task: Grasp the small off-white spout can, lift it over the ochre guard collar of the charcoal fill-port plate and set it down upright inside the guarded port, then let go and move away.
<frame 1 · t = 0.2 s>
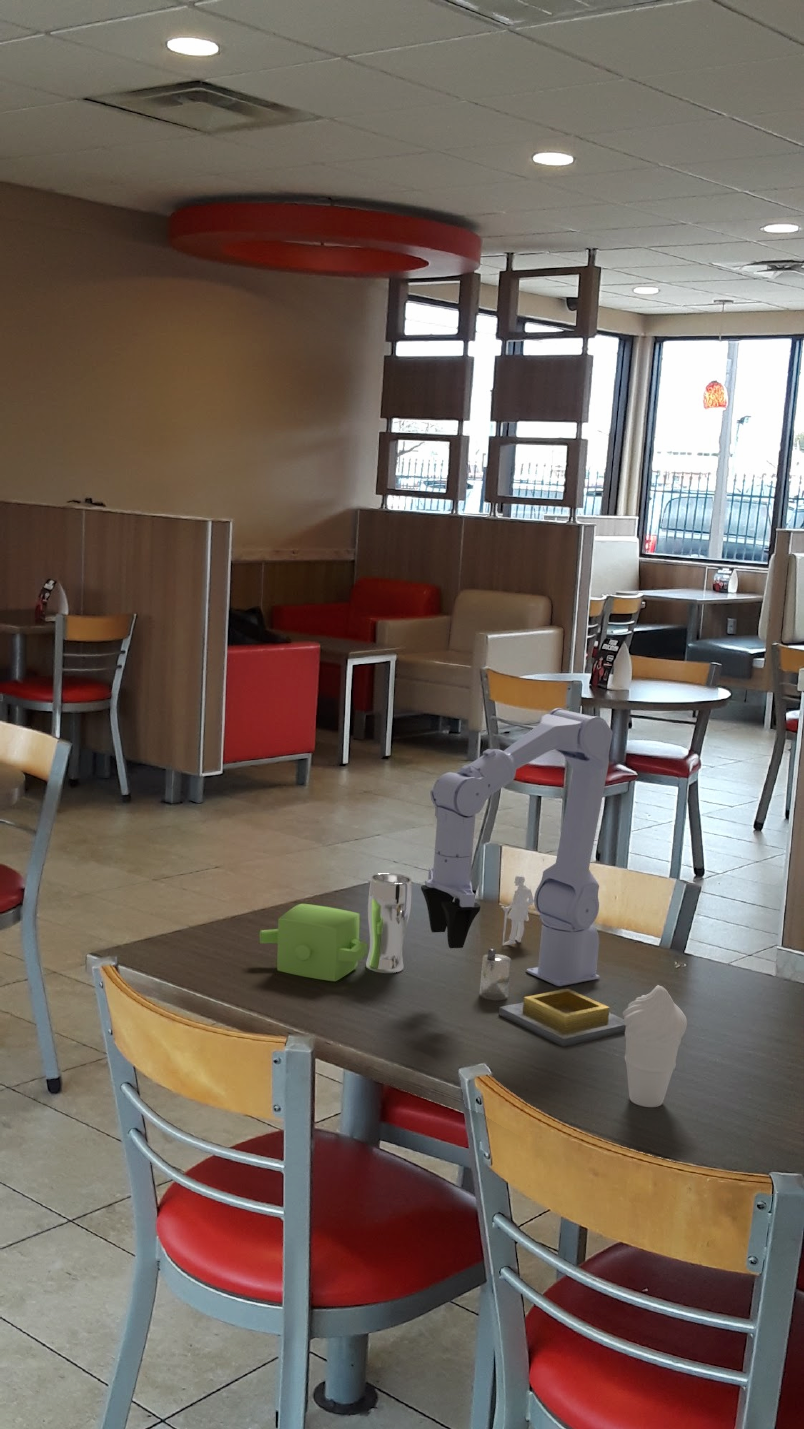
hand: (446, 939, 217), 10 cm above the table, tool pointing down, fingers open, 7 cm apart
soft serve ice cream cone: (646, 1102, 187), on the table
beer glass: (384, 968, 232), on the table
action figure: (513, 944, 250), on the table
fill port: (564, 1022, 213), on the table
spout can: (493, 995, 223), on the table
gearbox: (309, 971, 228), on the table
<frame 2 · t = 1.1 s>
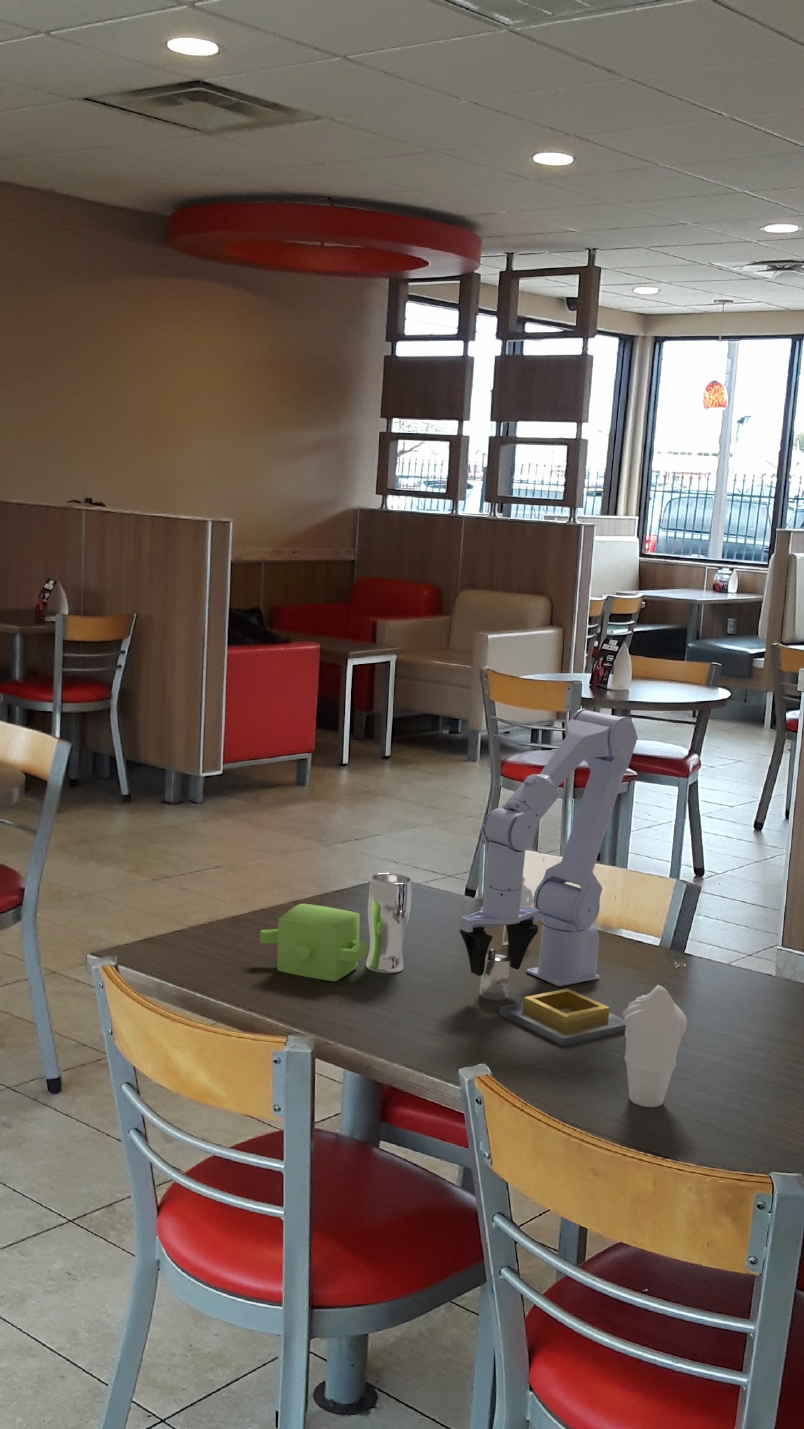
hand: (495, 970, 222), 4 cm above the table, tool pointing down, fingers open, 7 cm apart
nothing on the table moved.
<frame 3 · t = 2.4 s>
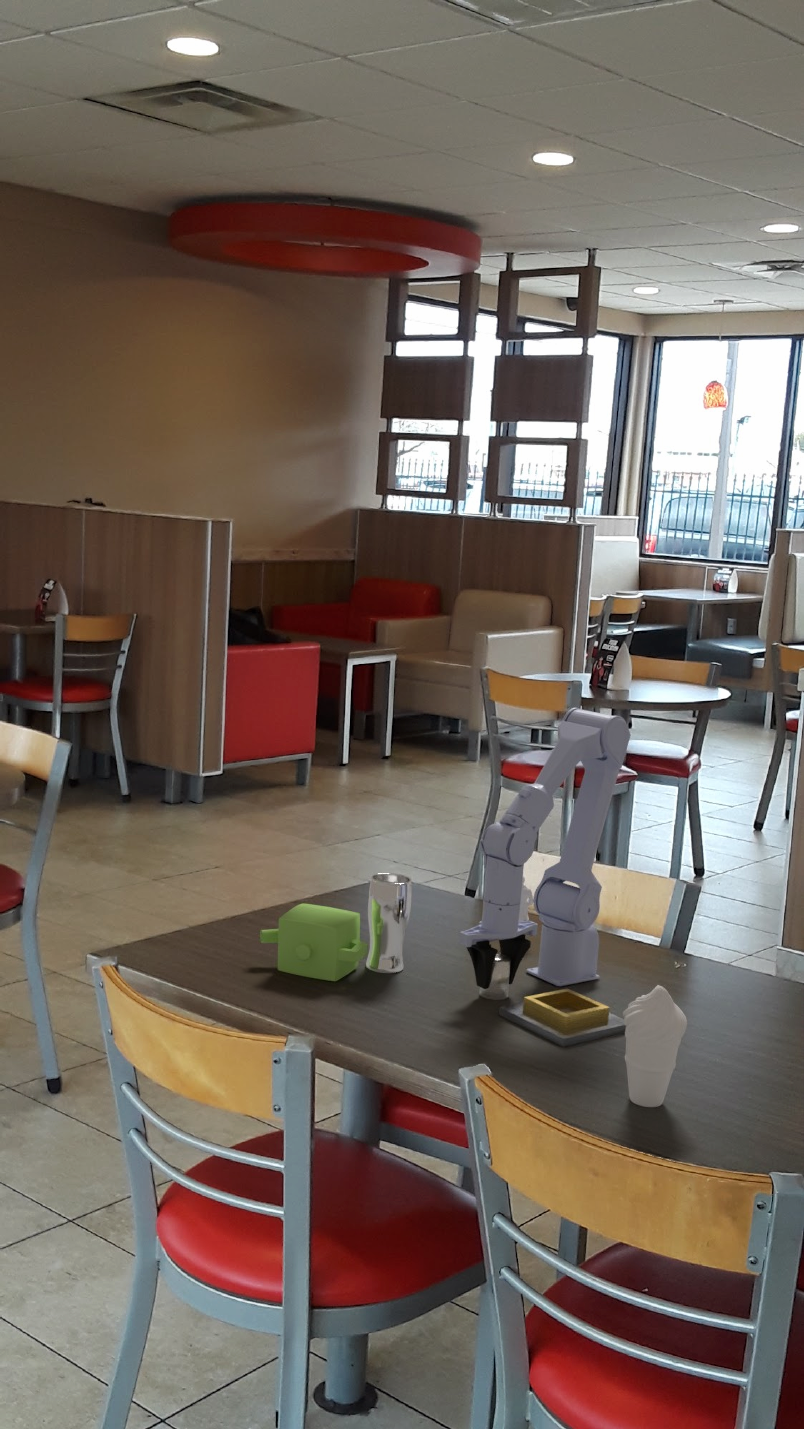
hand: (494, 984, 222), 2 cm above the table, tool pointing down, fingers closed on spout can, 4 cm apart
spout can: (493, 995, 223), on the table, touching gripper
everything else where it was.
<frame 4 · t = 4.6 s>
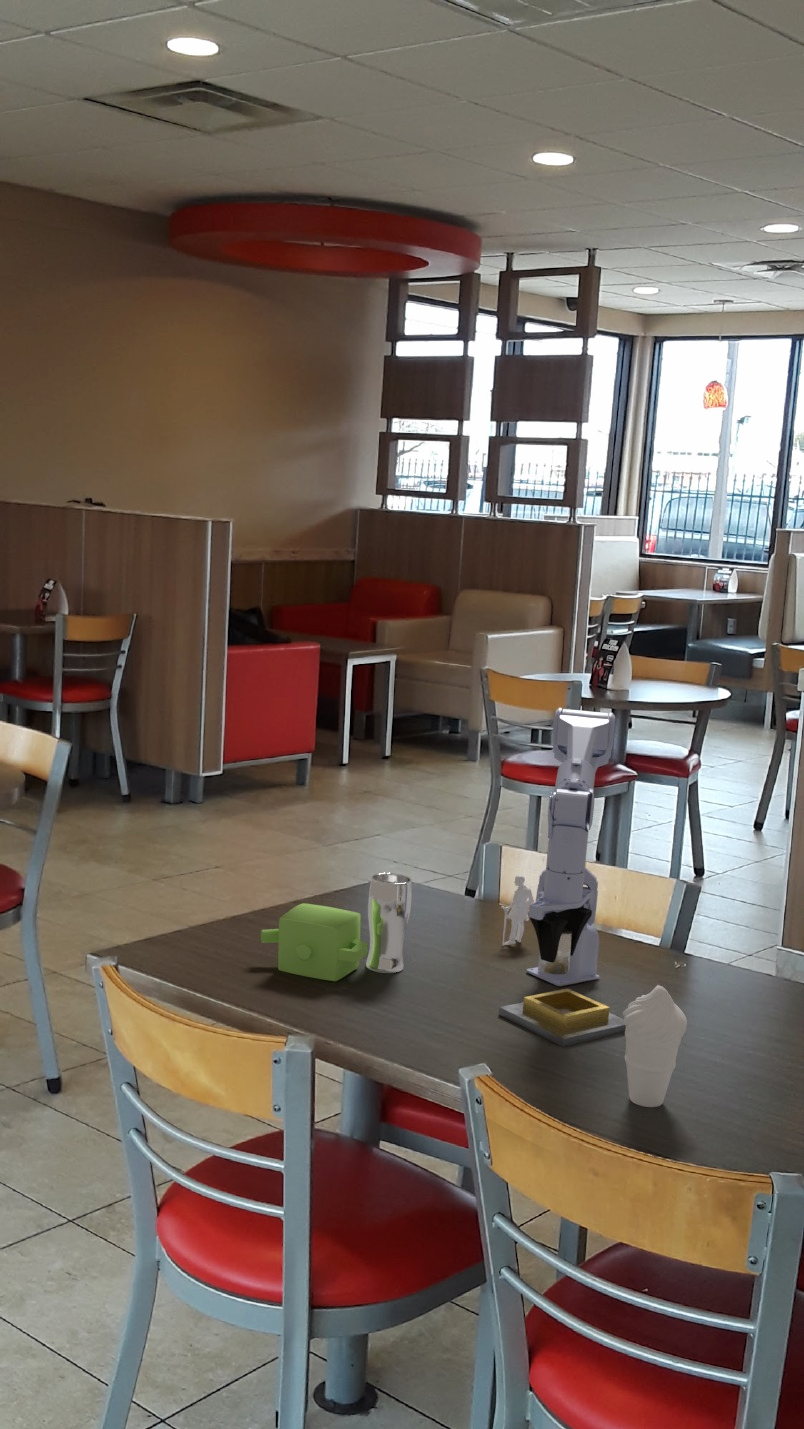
hand: (556, 957, 213), 9 cm above the table, tool pointing down, fingers closed on spout can, 4 cm apart
spout can: (554, 969, 214), point 7 cm above the table, touching gripper
everything else where it was.
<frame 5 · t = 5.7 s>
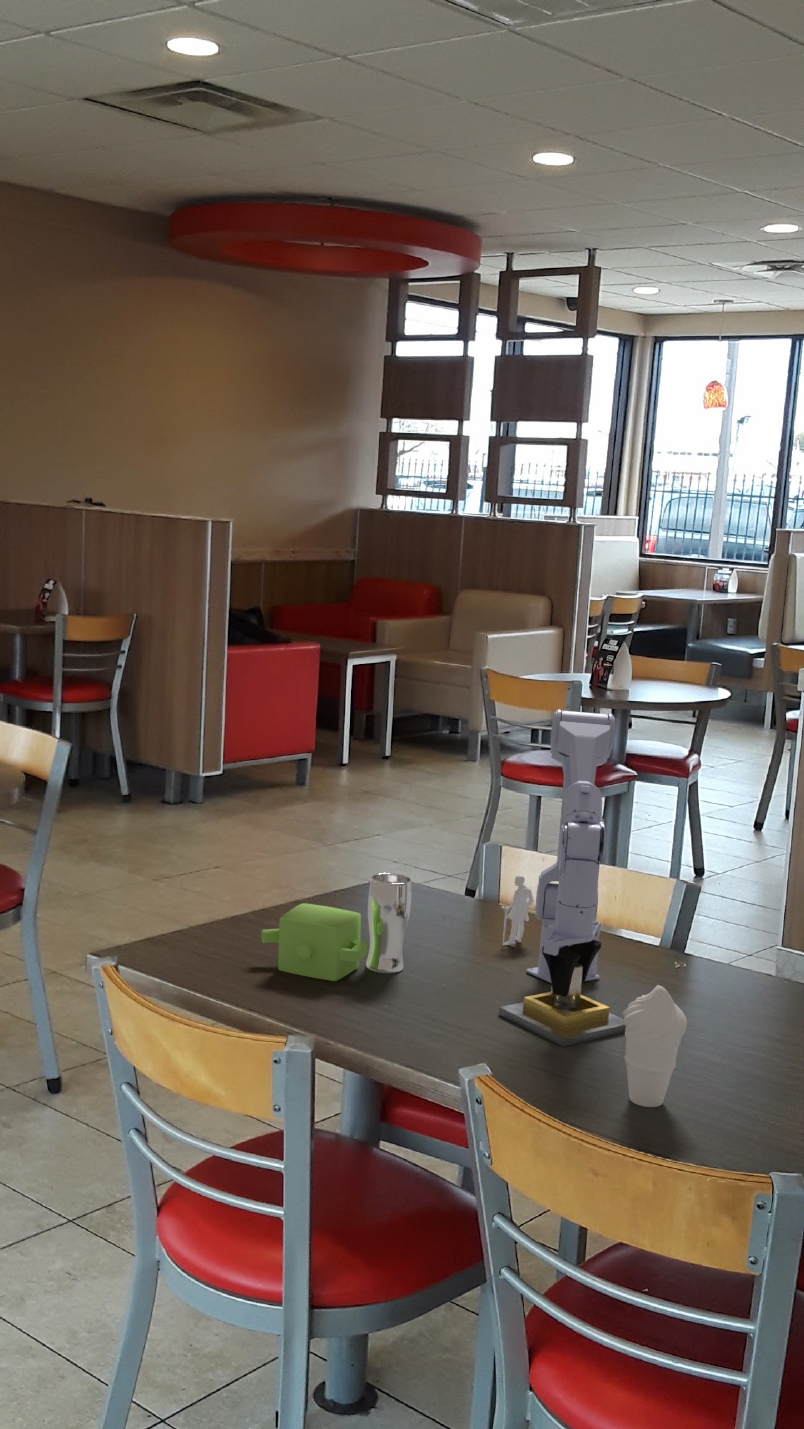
hand: (567, 990, 212), 5 cm above the table, tool pointing down, fingers closed on spout can, 4 cm apart
spout can: (565, 1003, 213), point 3 cm above the table, touching gripper
everything else where it was.
when the fingers open (4 cm above the table, at t = 6.8 s): spout can stays where it is, resting on fill port.
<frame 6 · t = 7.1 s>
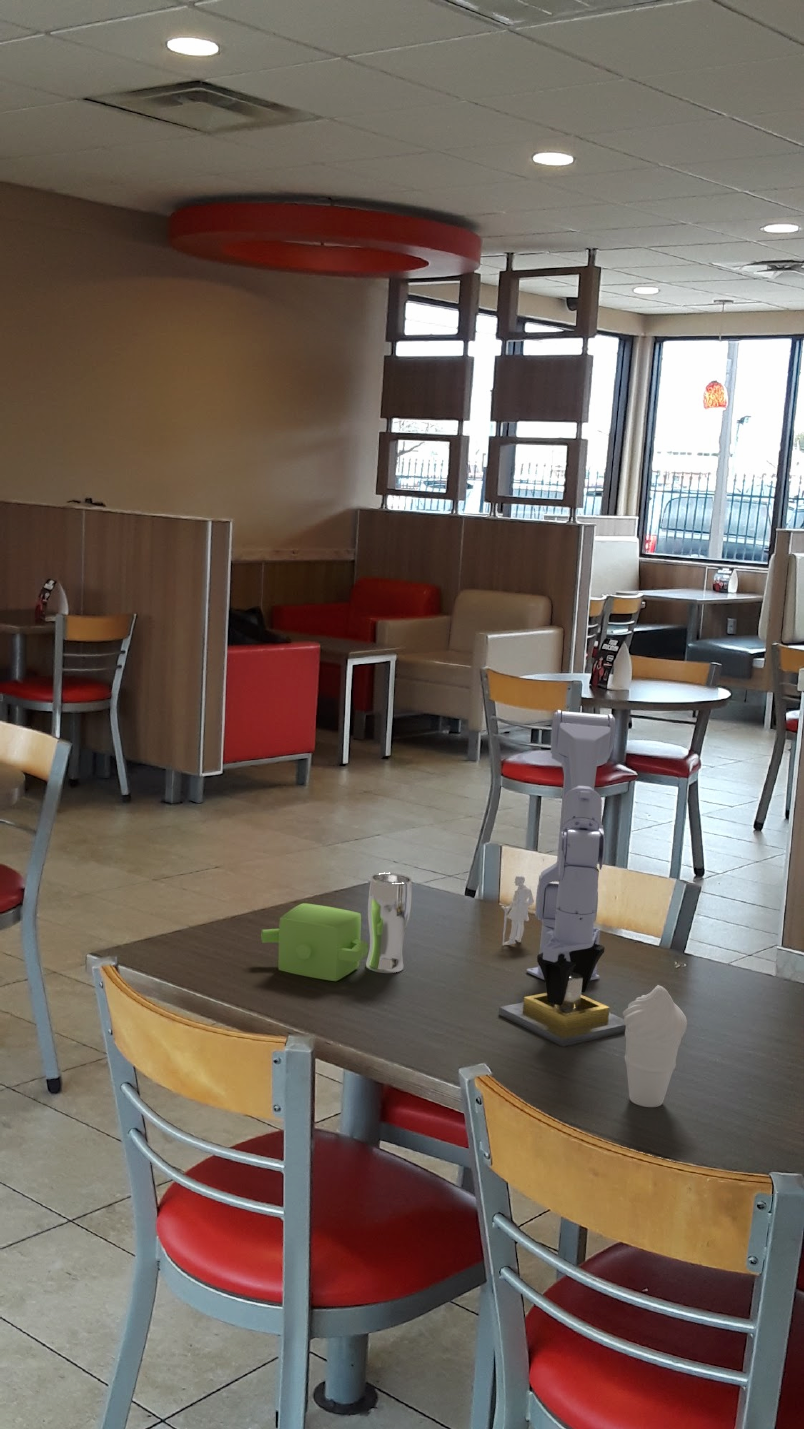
hand: (567, 997, 212), 4 cm above the table, tool pointing down, fingers open, 7 cm apart
spout can: (564, 1014, 213), point 1 cm above the table, touching fill port
everything else where it was.
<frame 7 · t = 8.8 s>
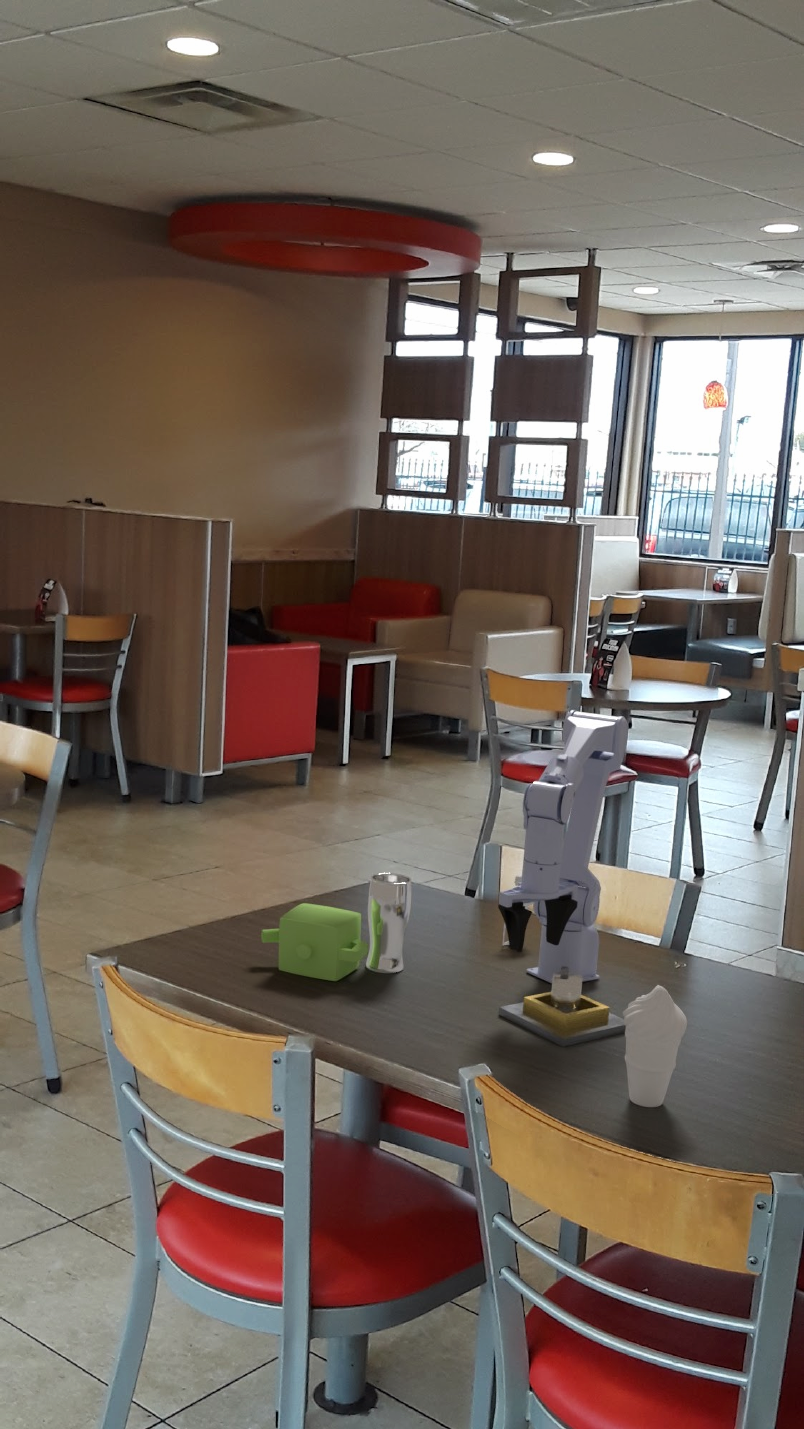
hand: (534, 946, 218), 9 cm above the table, tool pointing down, fingers open, 7 cm apart
nothing on the table moved.
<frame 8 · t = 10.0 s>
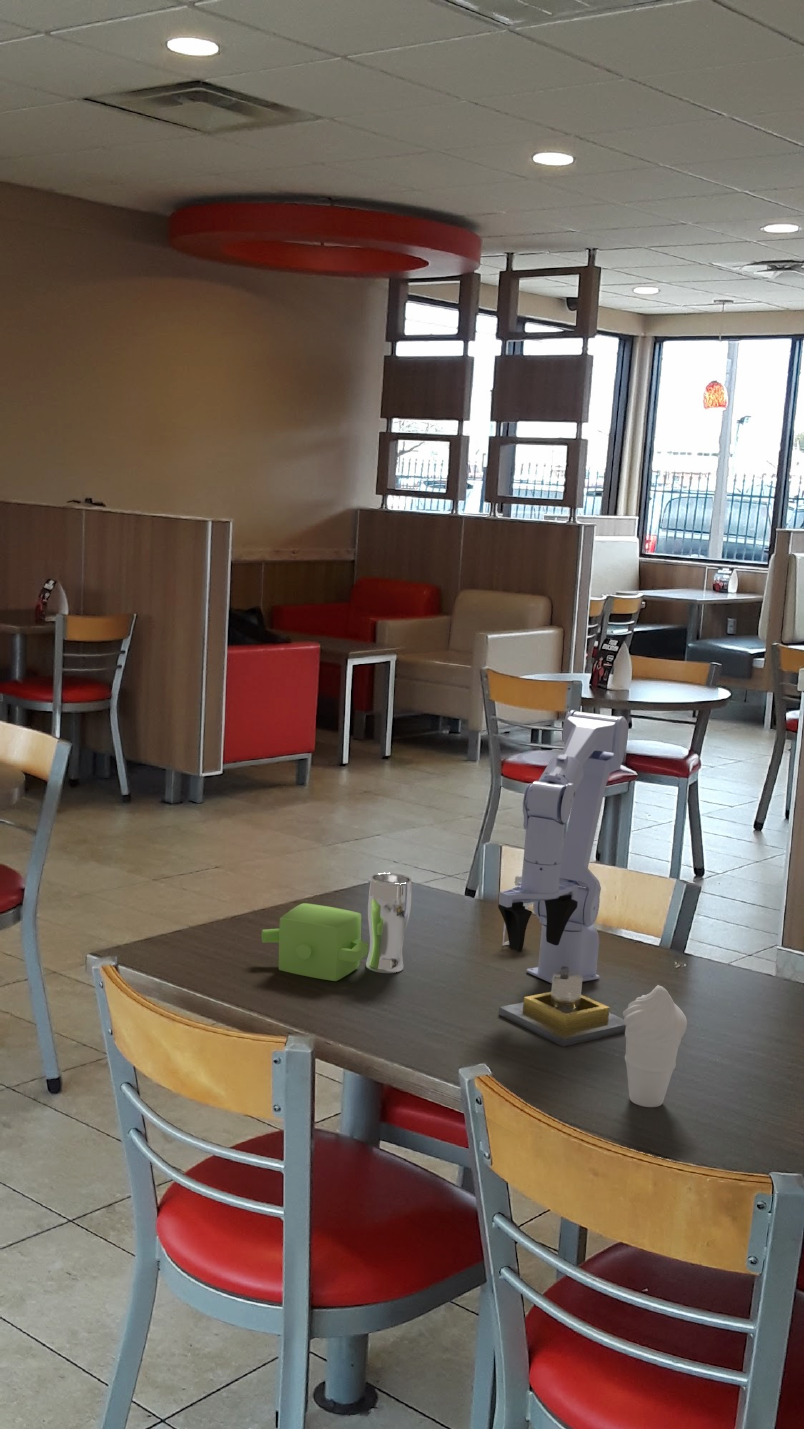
hand: (534, 946, 218), 9 cm above the table, tool pointing down, fingers open, 7 cm apart
nothing on the table moved.
at the end: spout can 0.2 cm off-centre on the fill port, point 1.2 cm above the fill port's base; spout can tilted 0°; the gripper is holding nothing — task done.
